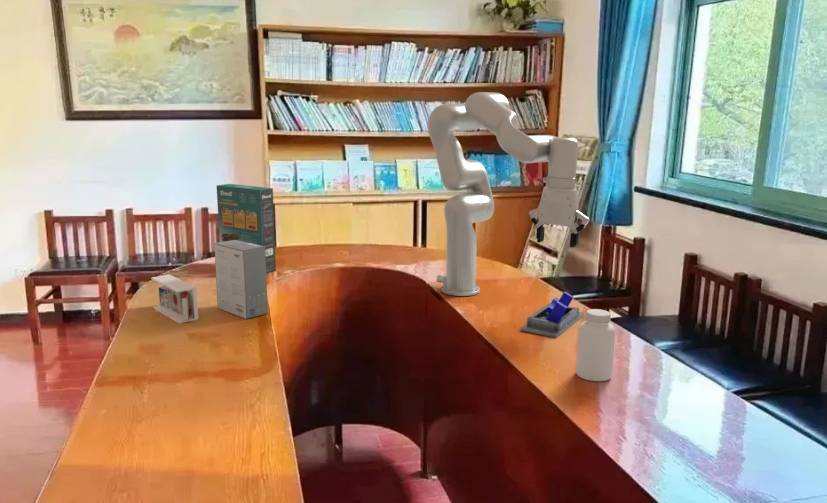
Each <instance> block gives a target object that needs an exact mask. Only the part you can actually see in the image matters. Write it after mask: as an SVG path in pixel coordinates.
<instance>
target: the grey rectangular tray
mask: <svg viewBox="0 0 827 503" xmlns="http://www.w3.org/2000/svg"><path fill="white" fill-rule="evenodd" d="M550 303H551V302H549V303H548V304H546V305H545V306H543V307H541V308H540V309H539V310H537V311H535V312H534V313H532V314H531V315H529V316H528V317H527V318H526V323H525V324H523V325H522V326H521V327H520V331H521V332H523V333H524V332H525V333H531V334H535V335H540V336H545V337H550V338H556V339H557V338H558V337H559V336H561V335H562V334H563V333H564V332H565V331H567V330H568V329H569V328H570V327H571V326H573V325H575V323H577V322H578V321H579V320H580V319H582V318H583V317H584V315H585V314H584V312H582V311H580V308H579V307H574V306H570V305H569V306H568V307H567V309H566V311H565V312H564V314H563V315H562V317H561V318H560V320H558V321H556V322H555V321H549V320H546V319H547V317H548V316H549V314H550V313H548V312H546V310H547V308H548V306H549V305H550Z"/></svg>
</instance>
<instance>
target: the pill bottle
mask: <svg viewBox="0 0 827 503" xmlns="http://www.w3.org/2000/svg"><path fill="white" fill-rule="evenodd" d="M611 317H612V315H611V312H610V311H607V310H604V309H600V308H599V309H598V308H591V309H588V310H586V312H585V321H583V322H581V323H580V324H579V326H578V333H577V334H578V335H577V348H576V349H577V350H576V352H577V353H576V362H575V363H576V365H575V370H576V371H575V373H576V375H577V377H579V378H581V379H583V380H586V381H590V382H606V381H608V380H610V379H611V378H612V376H613V365H614V355H615V354H614V351H615V340H616V328H615V327H614V325H613V324H612V323H610V322H611V320H612V319H611Z"/></svg>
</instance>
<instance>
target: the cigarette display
mask: <svg viewBox="0 0 827 503" xmlns="http://www.w3.org/2000/svg"><path fill="white" fill-rule="evenodd" d="M150 279H151V280H152V281H154V282H156V283H158V284H160V285H162V286H159V287H158V297H159V305H157V306H153V309H154V310H156V311H157V312H159V313H161V314H163V315H164V316H166V317H168V318H169V319H172V320H173V321H175V322H176V323H178V324H183V323H188V322H192V321H197V320H199V306H198V304H199V303H198V292H197V291H198V290H197V286H195V285H192V284H191V283H188V282H186V281H184V280H183V279H179V278H178V277H175V276H173V275H171V274H165V275H164V274H163V275H160V276H152V277H151V278H150Z"/></svg>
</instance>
